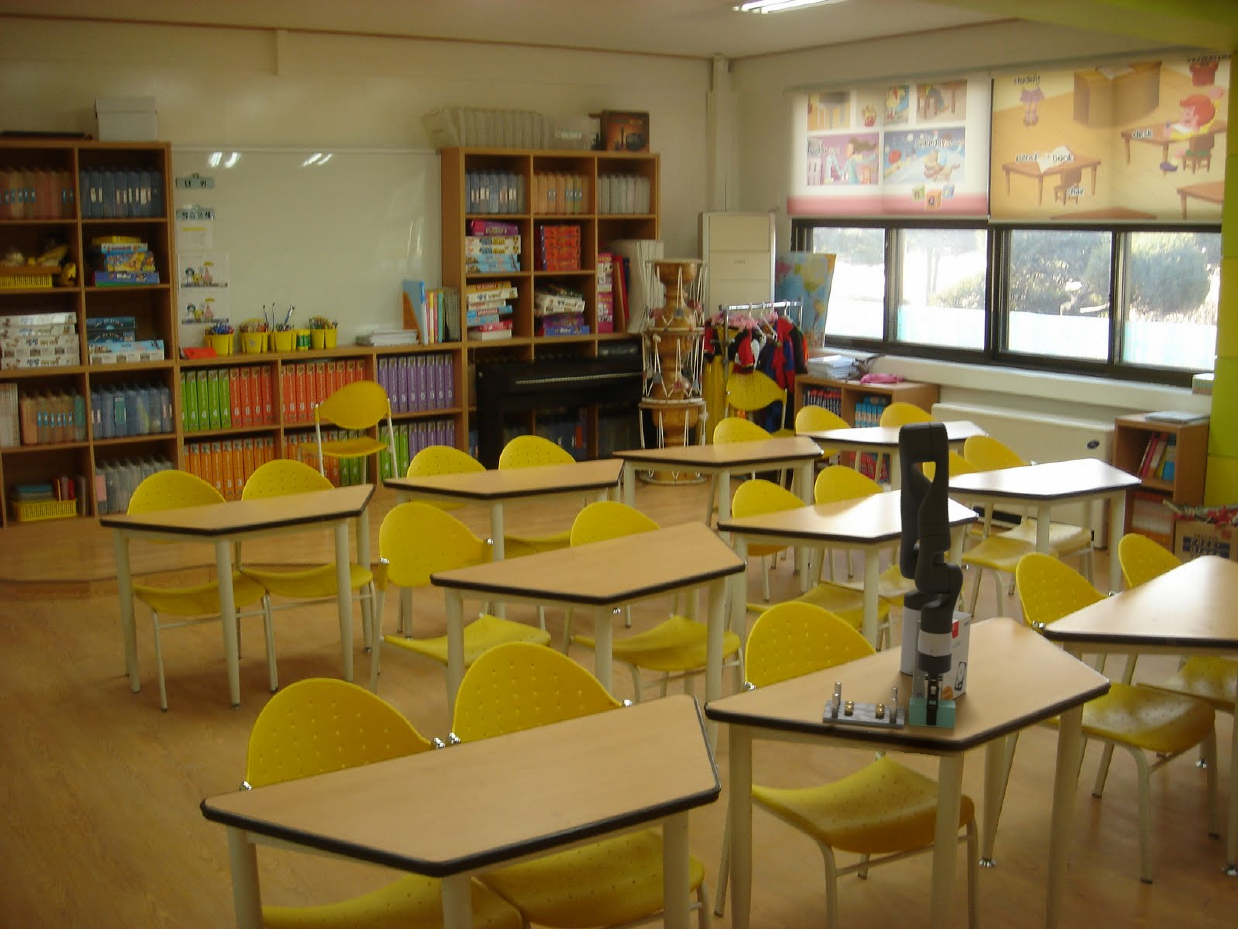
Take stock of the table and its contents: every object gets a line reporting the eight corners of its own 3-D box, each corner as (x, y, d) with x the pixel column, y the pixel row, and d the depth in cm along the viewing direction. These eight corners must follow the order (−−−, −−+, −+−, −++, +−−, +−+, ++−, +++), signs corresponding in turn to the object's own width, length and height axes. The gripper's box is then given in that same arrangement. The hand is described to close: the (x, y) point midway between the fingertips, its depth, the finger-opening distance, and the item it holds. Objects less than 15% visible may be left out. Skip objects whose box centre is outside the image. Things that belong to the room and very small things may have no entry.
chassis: (826, 703, 309) (827, 679, 308) (904, 710, 305) (905, 686, 304) (823, 721, 298) (824, 696, 297) (903, 729, 294) (905, 703, 293)
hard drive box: (941, 709, 306) (945, 627, 303) (910, 702, 311) (914, 621, 308) (967, 691, 319) (971, 612, 315) (937, 685, 323) (941, 607, 320)
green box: (908, 717, 301) (909, 697, 300) (953, 721, 299) (954, 700, 299) (909, 725, 296) (910, 704, 295) (954, 729, 295) (955, 707, 294)
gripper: (918, 638, 303) (914, 708, 306) (917, 657, 289) (913, 730, 292) (951, 641, 301) (947, 711, 304) (952, 660, 287) (948, 733, 290)
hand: (931, 720), depth 298 cm, fingers open, 5 cm apart
